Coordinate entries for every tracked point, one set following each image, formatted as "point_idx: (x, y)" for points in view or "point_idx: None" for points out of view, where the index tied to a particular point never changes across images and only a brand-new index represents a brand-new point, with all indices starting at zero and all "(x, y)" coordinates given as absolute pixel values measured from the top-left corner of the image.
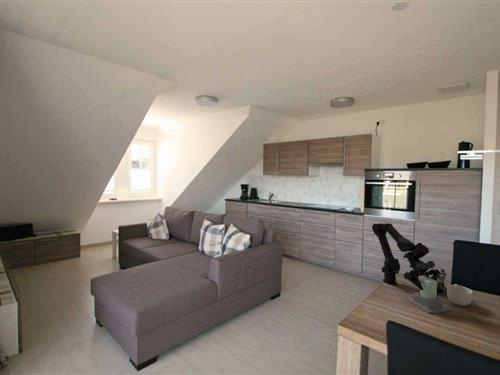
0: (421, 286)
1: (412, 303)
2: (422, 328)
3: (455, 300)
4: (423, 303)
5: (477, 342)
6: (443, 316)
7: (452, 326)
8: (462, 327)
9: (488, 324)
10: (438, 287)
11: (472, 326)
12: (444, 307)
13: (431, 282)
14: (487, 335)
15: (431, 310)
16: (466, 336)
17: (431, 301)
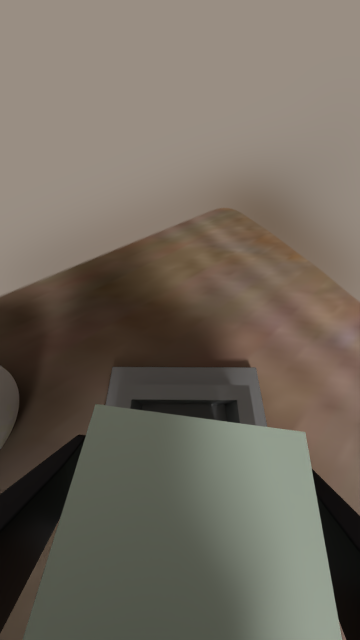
0: (336, 505)
1: None
2: (351, 298)
3: (11, 400)
4: None
5: (225, 230)
6: (201, 338)
7: (228, 285)
8: (199, 275)
9: (95, 270)
10: (69, 442)
11: (160, 273)
12: (133, 383)
13: (229, 422)
14: (166, 240)
15: (231, 376)
16: (231, 247)
17: (226, 385)
